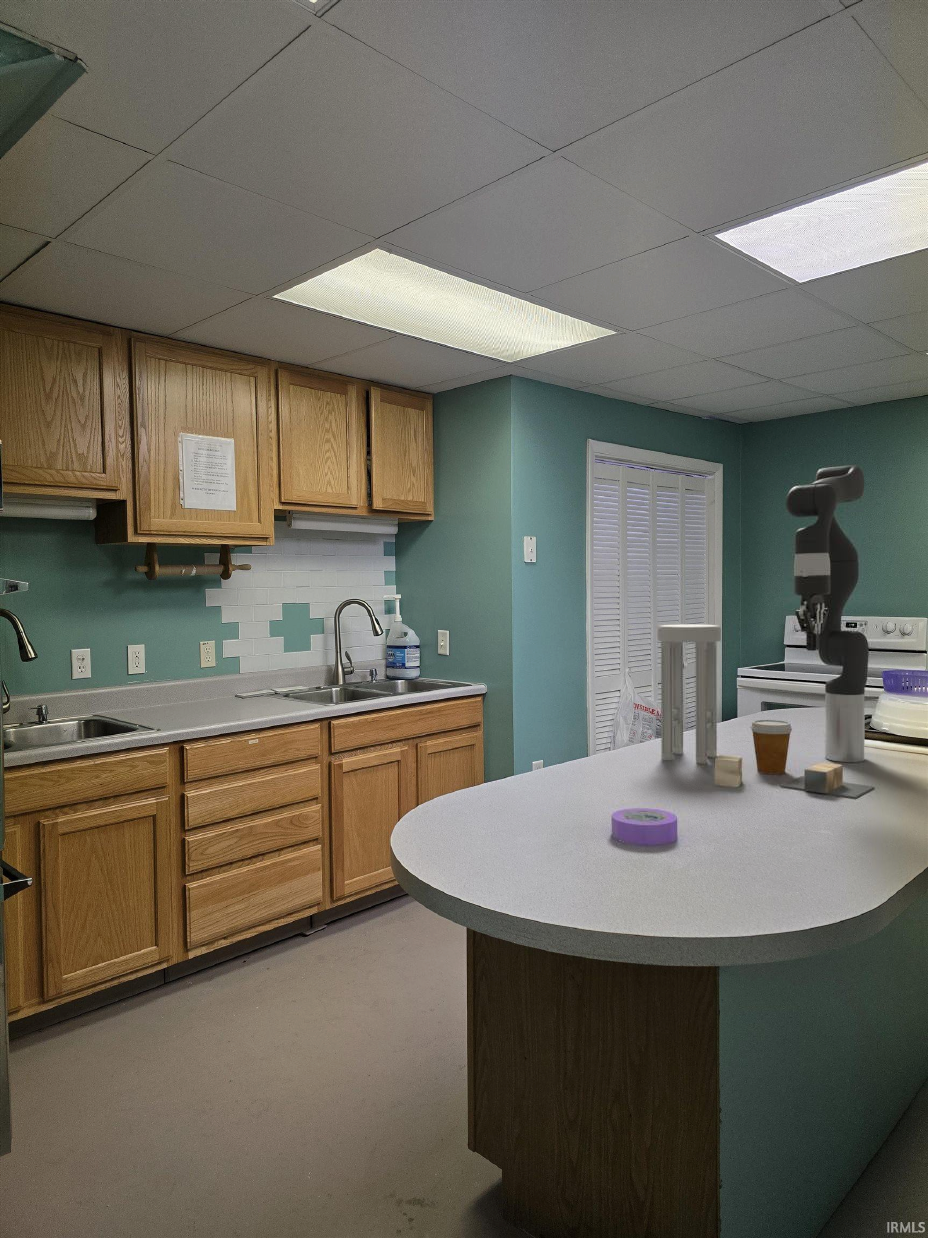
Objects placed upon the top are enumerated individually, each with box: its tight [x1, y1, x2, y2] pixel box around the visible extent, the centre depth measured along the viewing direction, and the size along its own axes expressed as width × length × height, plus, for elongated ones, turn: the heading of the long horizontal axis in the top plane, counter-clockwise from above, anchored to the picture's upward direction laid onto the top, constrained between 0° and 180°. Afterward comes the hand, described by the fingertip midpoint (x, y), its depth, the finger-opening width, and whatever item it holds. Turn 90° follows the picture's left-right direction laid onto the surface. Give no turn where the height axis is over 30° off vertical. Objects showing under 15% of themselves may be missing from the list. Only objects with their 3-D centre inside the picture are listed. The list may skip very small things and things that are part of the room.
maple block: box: [714, 754, 743, 788], centre depth 187 cm, size 5×5×6 cm
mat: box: [779, 775, 875, 800], centre depth 182 cm, size 12×16×1 cm
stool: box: [657, 623, 722, 765], centre depth 215 cm, size 16×16×35 cm
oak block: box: [803, 761, 844, 794], centre depth 180 cm, size 4×4×10 cm
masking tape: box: [611, 807, 678, 846], centre depth 148 cm, size 12×12×4 cm
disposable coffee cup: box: [750, 719, 793, 775], centre depth 198 cm, size 10×10×12 cm
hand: (812, 650), depth 185 cm, fingers closed
